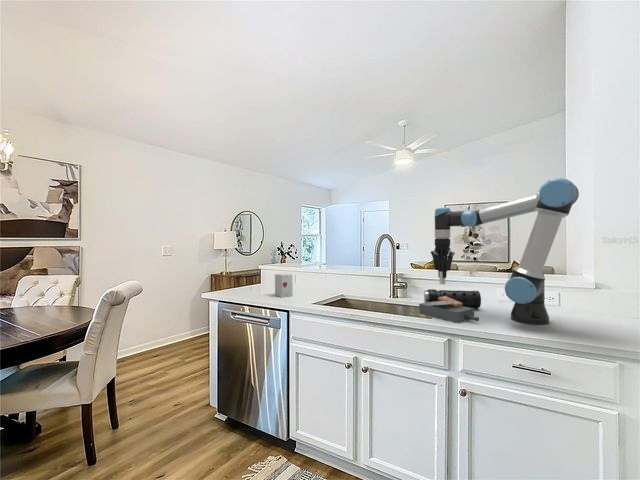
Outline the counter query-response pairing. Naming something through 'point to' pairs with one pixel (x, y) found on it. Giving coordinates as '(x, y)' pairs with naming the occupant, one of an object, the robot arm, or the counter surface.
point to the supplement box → (283, 285)
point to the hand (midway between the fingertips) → (442, 284)
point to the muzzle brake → (455, 297)
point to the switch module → (448, 312)
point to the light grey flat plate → (441, 302)
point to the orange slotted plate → (445, 298)
